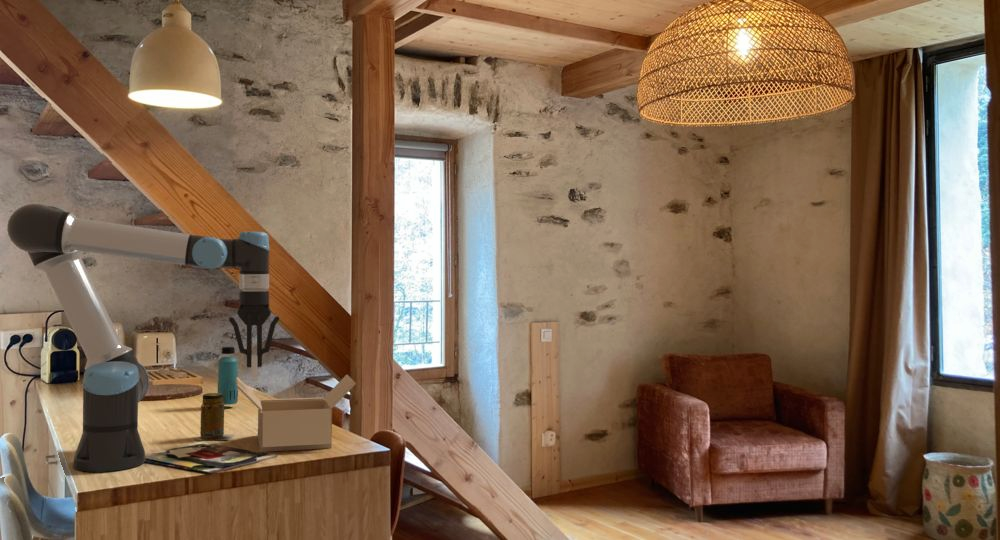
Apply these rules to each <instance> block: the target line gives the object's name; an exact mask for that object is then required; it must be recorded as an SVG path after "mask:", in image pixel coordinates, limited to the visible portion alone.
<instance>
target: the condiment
mask: <svg viewBox="0 0 1000 540" xmlns="http://www.w3.org/2000/svg"><path fill="white" fill-rule="evenodd" d="M201 401H202V402H201V403H202V404H201V405H200V428H199V429H200V432H199V433H200V437H198V438H196V439H195V441H202V442H203V441H228V440H230V439H231V438H233V436H234V434H233V433H232V434H228V433H227V434H224V433H225V432H224V431H225V429H224V428H225V405H224V404H223V394H221V393H218V392H210V393H204V394H203V395H202V400H201Z"/></svg>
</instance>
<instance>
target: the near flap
mask: <svg viewBox="0 0 1000 540" xmlns="http://www.w3.org/2000/svg"><path fill="white" fill-rule="evenodd" d="M317 444H331V409H307V410H281V411H263V445H262V447H279V446H298V445H317Z"/></svg>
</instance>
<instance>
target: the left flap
mask: <svg viewBox="0 0 1000 540" xmlns="http://www.w3.org/2000/svg"><path fill="white" fill-rule="evenodd" d="M236 387H237V388H238V391H239V392H241V393H242V394H243V396H245V397H246V398H247V400H249V401H250V402H251V403H252V404H253V405H254V407H256V408H257V410H258V409H259V410H260V411H262V406H261V401H260V400H261V399H260V398H259V397H258V396H257V394H255V393H254V392H253V391H252V390H251V389H250V388H249V387H248V386H247V385H246V384H245V383H244V382H243V381H242V380H241V379H240V378H239V376H238V377H236Z"/></svg>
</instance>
